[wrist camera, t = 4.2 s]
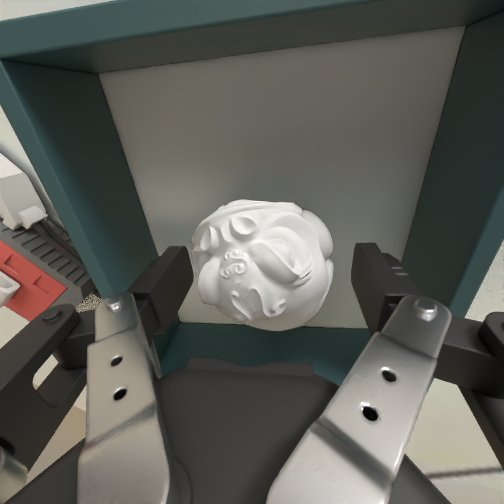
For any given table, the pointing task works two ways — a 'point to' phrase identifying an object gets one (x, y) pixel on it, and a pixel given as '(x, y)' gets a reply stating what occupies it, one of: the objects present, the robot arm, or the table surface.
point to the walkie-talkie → (35, 252)
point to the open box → (234, 43)
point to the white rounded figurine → (263, 263)
